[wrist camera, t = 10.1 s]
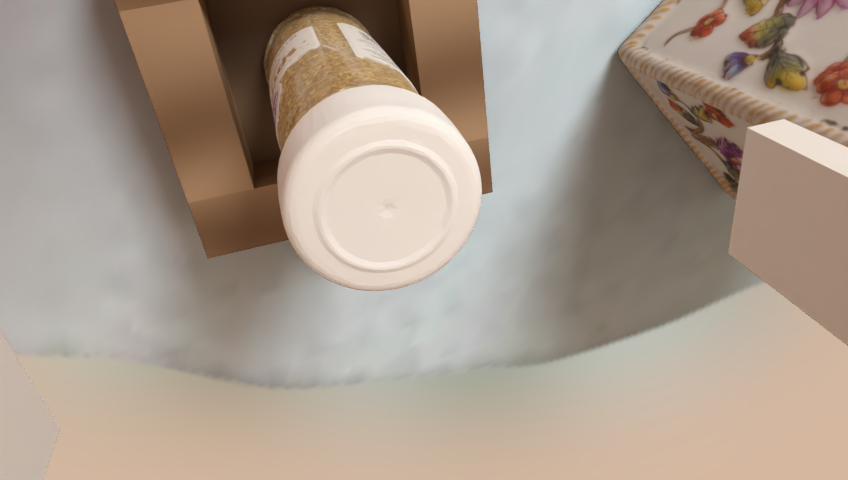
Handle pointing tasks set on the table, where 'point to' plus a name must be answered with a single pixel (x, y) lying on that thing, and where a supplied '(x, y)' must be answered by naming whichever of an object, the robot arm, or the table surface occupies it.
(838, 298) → the robot arm
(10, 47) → the table surface
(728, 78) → the decorative jar
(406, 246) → the sprinkles bottle
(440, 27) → the socket board
